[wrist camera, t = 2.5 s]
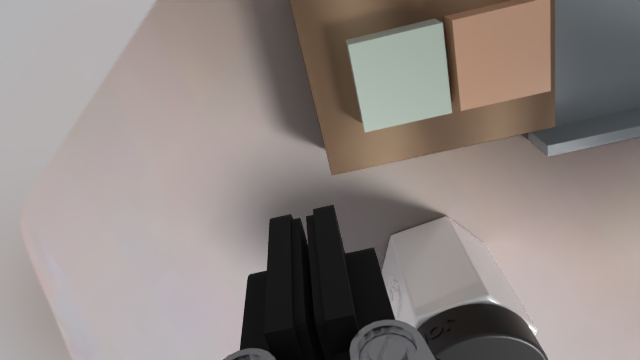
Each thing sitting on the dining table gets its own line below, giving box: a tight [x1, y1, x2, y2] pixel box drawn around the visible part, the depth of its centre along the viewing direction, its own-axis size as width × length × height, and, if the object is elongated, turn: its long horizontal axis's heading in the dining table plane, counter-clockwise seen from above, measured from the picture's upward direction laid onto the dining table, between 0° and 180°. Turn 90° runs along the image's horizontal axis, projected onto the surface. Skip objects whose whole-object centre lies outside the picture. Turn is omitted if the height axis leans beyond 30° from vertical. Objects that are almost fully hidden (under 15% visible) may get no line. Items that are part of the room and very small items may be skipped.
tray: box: [528, 0, 640, 157], centre depth 28 cm, size 11×16×3 cm
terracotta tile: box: [444, 0, 551, 111], centre depth 26 cm, size 5×5×2 cm
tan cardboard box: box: [290, 0, 555, 175], centre depth 29 cm, size 14×11×4 cm
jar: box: [381, 216, 548, 360], centre depth 33 cm, size 9×8×12 cm
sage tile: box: [346, 19, 452, 132], centre depth 26 cm, size 5×5×2 cm
